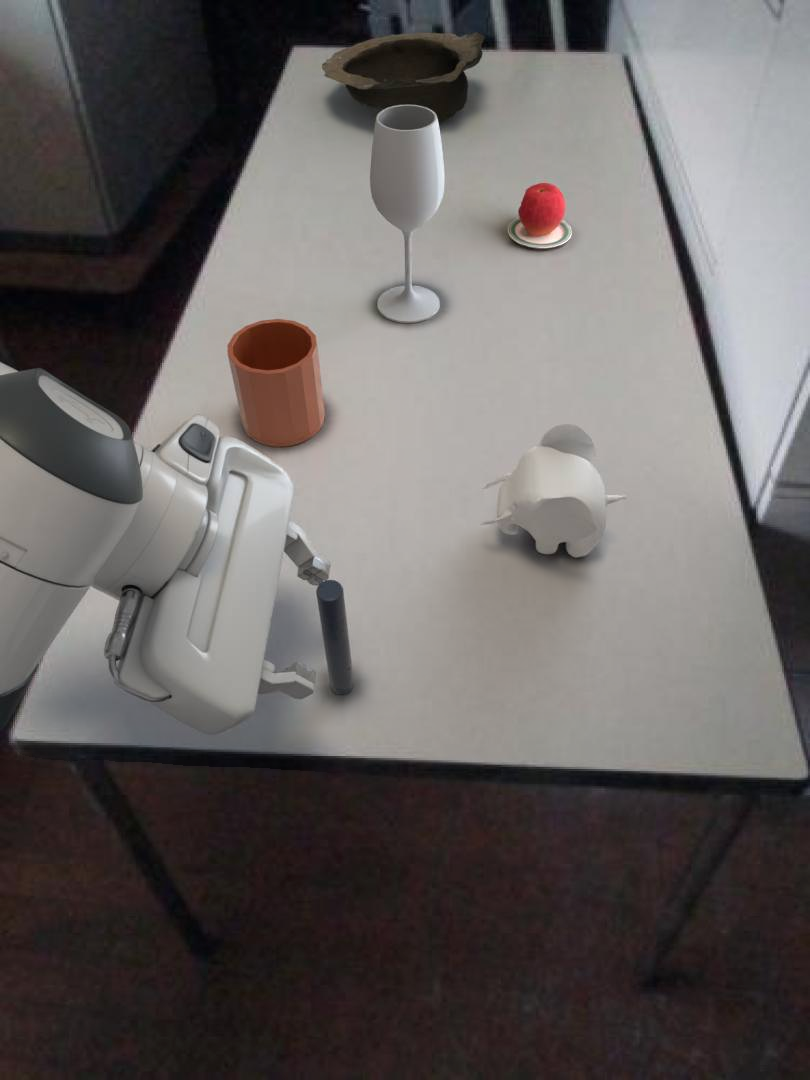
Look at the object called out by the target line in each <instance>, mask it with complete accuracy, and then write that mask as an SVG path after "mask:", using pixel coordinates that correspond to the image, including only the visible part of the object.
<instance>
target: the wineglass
mask: <svg viewBox="0 0 810 1080" xmlns="http://www.w3.org/2000/svg"><path fill="white" fill-rule="evenodd" d="M442 143H443V142H442V137H441V130H440V124H439V123H438V119H437V115H436V114H435V112H433V111H432V110H431V109H428V108H426V107H423V106H418V105H397V106H392V107H389V108H386V109H381V111H379V112H378V113H377V114H376V118H375V123H374V130H373V137H372V145H371V154H370V155H371V157H370V169H369V171H370V172H369V187H370V193H371V199H372V201H373V203H374V206H375V208H376V210H377V212H378V213H379V214H380V215H381V216H382V217H383V218H384V220H386V222H388V223H390V224H391V225H392V226H394V227H395V228H396V229H398V230H400V232H401V233H402V234H403V235H402V236H403V241H404V285H399V286H394V287H392V288H388V289H387V290H386V291H384V292H383V293H381V294H380V295H379V297H378V299H377V303H376V304H377V305H376V306H377V309H378V312H379V313H380V314H381V315H382V317H384V318H386V319H387V320H390V321H392V322H396V323H400V324H416V323H421V322H424V321H427V320H429V319H431V318H432V317H434V316H435V315H436V314H437V313H438V312H439V310H440V306H441V305H440V304H441V302H440V301H441V300H440V298H439V296H438V295H437V294H436V293H435V292H434V291H432V290H431V289H429V288H426V287H424V286H419V285H412V241H413V234H414V232H415V231H416V230H417V229H419V228H420V227H422V226H423V225H424V224H425V223H428V221H429V220H431V218H432V217H433V216H434V214H436V212H437V211H438V210H439V208H440V205H441V203H442V200H443V198H444V192H445V163H444V152H443V144H442Z"/></svg>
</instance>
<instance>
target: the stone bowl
mask: <svg viewBox="0 0 810 1080" xmlns="http://www.w3.org/2000/svg"><path fill="white" fill-rule="evenodd" d="M484 40H486V39H485V36H484V34H481V33H479V32H477V31H476V32H474V33H471V34H467V33H466V34H465V33H464V34H463V35H462V36H458V35H457V34H455V33H449V32H447V33H440V32H439V33H437V32H415V33H399V34H388V35H383V36H381V37H375V38H371V39H368V40H365V41H362V42H358V43H356V44H354V45H352V46H349V47H346V48H343V49H341V50H337V51H336V52H334V53H333V54H332V55H331V57H330V58H327V59H326V60H325V61H324V62H323V63H321V69H322V71H324V75H323V76H324V77H326V78H328V79H331V80H333V81H335V82H338V83H339V84H343V85H345V88H346V89H347V93H349V95H350V96H351V98H352V99H354V101H356V102H357V103H360V104H361V105H364V106H366V107H367V108H369V107H370V108H375V109H381V110H384V109H386V108H389V107H392V106H397V105H418V106H423V107H426V108H428V109H431V110H432V111H433V112H435V114H436V115H437V119H438V124H439V123H442V122H444V121H447V120H449V119H452V118H453V117H454V116H455V115H456V113H457V112H460V111H461V110H462V109H464V107H465V105H466V103H467V102H468V91H469V82H468V81H469V80H468V77H467V74H466V72H465V71H466V70H469V69H472V68H474V67H476V66H477V65H478V64H479V63H480V61H481V59H482V57H483V54H484V53H483V50H482V44H483V43H484Z"/></svg>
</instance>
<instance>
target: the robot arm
mask: <svg viewBox="0 0 810 1080" xmlns="http://www.w3.org/2000/svg"><path fill="white" fill-rule="evenodd" d="M295 493H296V485H295V483H294V482H293V479H291V477H290V475H289V474H288V471H287V470H286V469H284V468H283V467H282V466H281V465H279V464H278V463H277V462H276V461H274V460H272V459H271V458H270V457H268V456H267V455H265V454H264V453H262V452H261V451H259V450H257V449H256V448H254V447H253V446H251V445H249V444H247V443H246V442H244V441H242V440H240V439H238V438H236V437H233V436H229V435H222V436H220V430H219V428H218V426H217V425H216V424H215V423H214V422H213V421H212V420H210V419H209V418H207V417H206V416H204V415H201V414H197V413H196V414H194V415H192V416H190V417H189V418H188V419H187V420H186V421H185V422H183V423H182V424H181V425H180V426H179V427H177V428H176V429H175V430H174V431H173V432H172V433H171V434H170V435H169V436H168V437H166V438H165V439H164V440H163V441H162V442H161V443H159V444H157V445H156V446H155V447H153V448H152V450H151V449H149V448H147V447H146V446H144V445H142V444H141V443H139V442H137V441H136V440H134V438H133V433H132V431H131V428H130V426H129V425H128V423H126V421H124V420H123V419H122V418H121V417H120V416H119V415H117V414H115V413H114V412H112V411H110V410H109V409H107V408H106V407H104V406H103V405H100V404H99V403H97V402H95V401H94V400H92V399H91V398H90V397H87V395H86V396H85V395H84V394H82V393H81V392H79V391H78V390H76V389H75V388H73V387H71V386H69V385H68V384H67V383H65V382H63V381H62V380H60V379H59V378H57V377H56V376H54V375H53V374H51V373H50V372H48V371H46V370H45V369H43V368H41V367H36V368H30V369H24V370H20V371H18V370H17V369H15V368H13V367H11V366H9V365H7V364H6V363H3V362H1V361H0V732H2V730H4V729H5V727H6V726H7V724H8V723H9V721H10V720H11V718H12V715H13V714H14V712H15V710H16V708H17V706H18V704H19V703H20V701H21V700H22V697H23V696H24V694H25V692H26V690H27V689H28V686H30V683H31V682H32V680H33V678H34V677H35V674H36V672H37V670H38V667H39V665H40V664H39V663H40V662H41V660H42V659H43V657H44V655H45V654H46V653H47V651H48V650H49V648H50V647H51V646H52V644H53V642H54V641H55V639H56V638H57V637H58V635H59V633H60V632H61V630H62V629H63V627H65V625H66V623H67V621H68V620H69V619H70V618H71V616H72V614H73V613H74V611H76V609H77V607H78V606H79V604H80V603H81V601H82V600H83V599H84V597H85V595H86V594H87V593H88V591H89V589H90V588H93V589H95V590H97V591H98V592H101V593H103V594H105V595H107V596H109V597H111V598H113V599H115V600H117V601H118V605H117V607H116V610H115V615H114V619H113V620H114V621H113V625H112V628H111V632H110V633H109V634H108V636H107V638H106V640H105V643H104V648H103V657H104V658H105V659H106V660H108V661H107V664H108V670H109V673H110V675H111V677H112V679H113V683H114V685H115V686H116V687H117V688H118V689H120V691H121V690H122V692H125V693H127V694H129V695H131V696H134V697H136V698H138V699H140V700H143V701H145V702H149V703H150V704H152V705H154V706H155V707H157V708H158V709H159V710H161V711H163V713H166V714H168V715H169V716H171V717H173V718H174V719H176V720H178V721H180V722H181V723H183V724H184V725H187V726H188V727H190V728H192V729H194V730H196V731H199V733H202V734H205V735H209V736H211V735H217V734H220V733H223V732H225V731H228V730H230V729H232V728H234V727H236V726H238V725H240V724H241V723H243V722H244V721H246V720H248V719H249V718H250V717H251V716H252V715H253V714H254V713H255V709H256V706H257V700H258V696H259V695H265V694H272V693H278V692H280V693H283V694H285V695H286V696H289V697H291V698H293V699H296V700H303V699H306V698H307V697H309V696H310V695H313V694H314V691H315V684H316V676H317V672H316V670H315V669H313V668H308V666H307V665H305V664H304V663H302V662H300V661H296V662H295V663H293V664H291V665H290V667H286V668H284V669H283V670H281V671H280V672H275V669H276V665H275V664H274V663H272V662H271V661H269V660H267V659H266V658H265V656H266V649H267V645H268V639H269V635H270V628H271V624H272V617H273V612H274V607H275V601H276V597H277V590H278V585H279V580H280V574H281V567H282V563H283V558H284V553H285V554H286V556H287V557H288V558H289V560H291V562H292V563H293V564H294V565H295V566H296V567H297V574H296V577H298V578H300V579H301V580H302V581H307V583H308V584H309V585H311V586H315V587H318V585H319V584H320V583H322V582H323V581H326V580H330V579H329V577H330V571H331V564H332V560H331V559H330V558H328V557H327V556H325V555H324V554H322V553H321V552H318V551H317V550H316V549H315V547H314V545H313V544H312V542H311V540H309V538H308V536H307V535H306V533H305V532H304V530H303V529H302V527H301V526H300V525H299V524H297V523H295V522H294V521H292V520H290V519H291V515H292V510H293V503H294V498H295ZM117 662H118V664H117Z"/></svg>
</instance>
